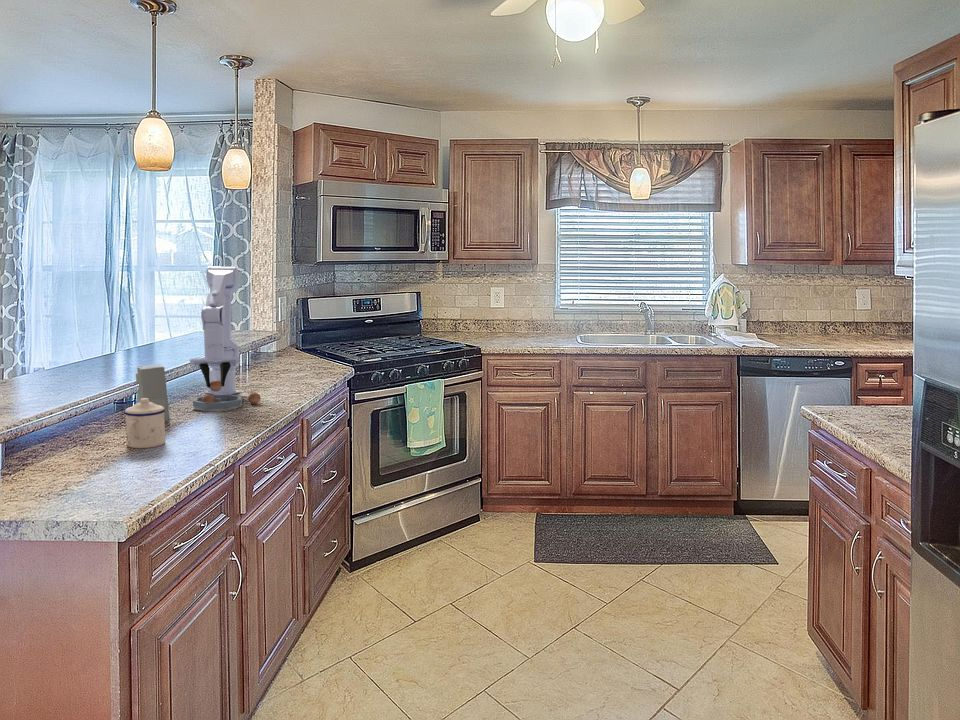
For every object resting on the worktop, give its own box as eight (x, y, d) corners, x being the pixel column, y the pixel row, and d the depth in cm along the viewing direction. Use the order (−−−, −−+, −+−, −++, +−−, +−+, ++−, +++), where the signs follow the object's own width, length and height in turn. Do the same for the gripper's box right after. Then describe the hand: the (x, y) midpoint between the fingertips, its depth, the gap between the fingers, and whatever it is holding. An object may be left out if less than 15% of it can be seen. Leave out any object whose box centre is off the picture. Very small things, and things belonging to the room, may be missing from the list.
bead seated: (199, 406, 212) (199, 394, 211) (209, 404, 215) (209, 392, 215) (207, 407, 210) (207, 395, 210) (217, 405, 213) (217, 393, 213)
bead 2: (245, 404, 220) (245, 392, 220) (254, 402, 224) (254, 391, 223) (254, 405, 219) (254, 394, 218) (263, 403, 222) (263, 392, 221)
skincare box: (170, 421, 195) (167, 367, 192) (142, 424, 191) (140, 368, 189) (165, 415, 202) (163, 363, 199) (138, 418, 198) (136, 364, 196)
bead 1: (206, 391, 217) (206, 380, 216) (216, 390, 220) (216, 378, 220) (215, 392, 215) (214, 381, 215) (224, 391, 218) (224, 379, 218)
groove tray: (184, 407, 213) (184, 399, 213) (220, 400, 225) (220, 392, 225) (215, 413, 206) (214, 405, 206) (250, 405, 219) (250, 397, 218)
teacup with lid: (139, 438, 176) (137, 394, 174) (173, 440, 175) (171, 395, 173) (110, 451, 164) (108, 403, 162) (147, 453, 163) (144, 405, 161)
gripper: (191, 346, 209) (193, 390, 211) (240, 344, 216) (241, 386, 218) (188, 344, 215) (189, 386, 217) (235, 342, 222) (236, 383, 224)
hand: (215, 386), depth 218 cm, fingers closed on bead 1, 4 cm apart
